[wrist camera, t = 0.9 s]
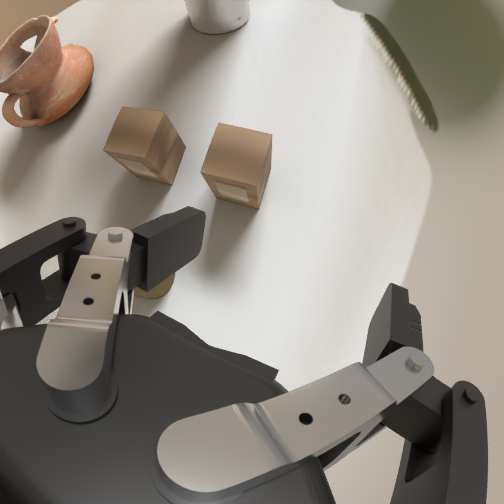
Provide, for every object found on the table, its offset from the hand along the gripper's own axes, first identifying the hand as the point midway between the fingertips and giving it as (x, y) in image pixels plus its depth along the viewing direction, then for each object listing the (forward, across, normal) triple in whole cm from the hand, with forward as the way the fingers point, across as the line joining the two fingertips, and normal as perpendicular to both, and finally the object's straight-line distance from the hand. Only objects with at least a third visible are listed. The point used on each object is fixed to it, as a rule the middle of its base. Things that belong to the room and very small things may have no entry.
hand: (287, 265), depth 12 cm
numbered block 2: (+21, +11, +4) cm, 24 cm away
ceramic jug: (+18, +44, -4) cm, 48 cm away
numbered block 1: (+19, +22, +4) cm, 29 cm away
